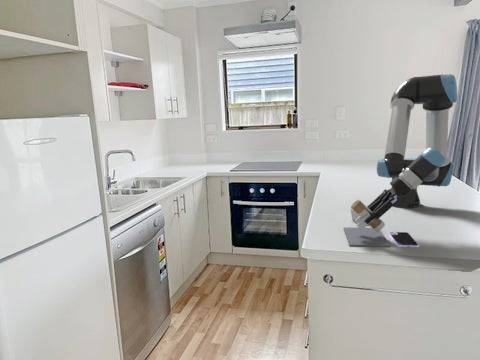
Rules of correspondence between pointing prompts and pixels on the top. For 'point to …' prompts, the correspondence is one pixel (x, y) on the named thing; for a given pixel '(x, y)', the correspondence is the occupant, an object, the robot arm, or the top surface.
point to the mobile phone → (403, 239)
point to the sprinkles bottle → (364, 211)
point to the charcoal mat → (365, 237)
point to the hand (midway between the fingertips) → (357, 225)
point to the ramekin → (354, 214)
